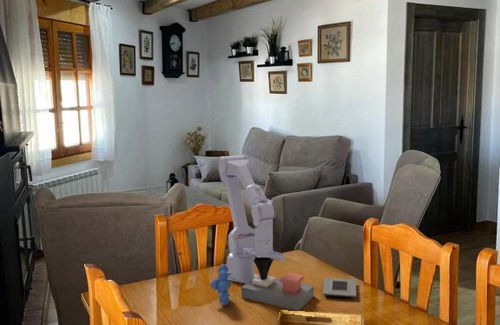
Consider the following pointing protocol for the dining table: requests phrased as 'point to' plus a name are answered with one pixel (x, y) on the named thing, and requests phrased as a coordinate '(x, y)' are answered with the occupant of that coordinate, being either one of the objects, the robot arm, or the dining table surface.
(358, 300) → the dining table surface
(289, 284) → the red plunger
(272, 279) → the white plunger
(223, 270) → the grapes
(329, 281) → the electrical outlet
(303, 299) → the panel
